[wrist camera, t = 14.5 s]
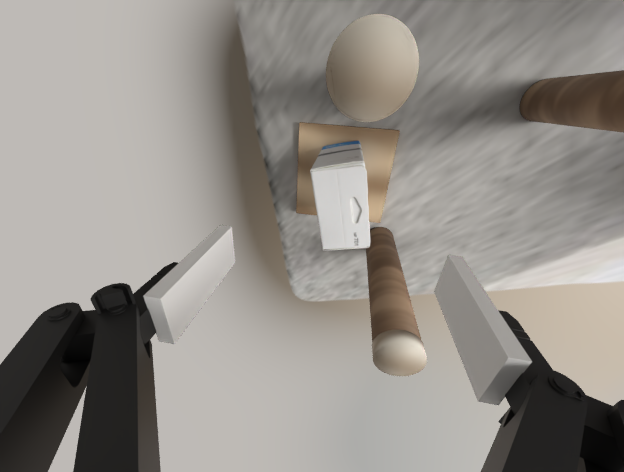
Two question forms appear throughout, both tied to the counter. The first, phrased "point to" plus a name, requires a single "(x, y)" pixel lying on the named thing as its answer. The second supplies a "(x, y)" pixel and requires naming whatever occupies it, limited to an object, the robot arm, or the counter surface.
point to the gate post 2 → (578, 101)
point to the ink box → (341, 196)
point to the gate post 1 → (372, 68)
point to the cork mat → (375, 153)
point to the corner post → (391, 310)
